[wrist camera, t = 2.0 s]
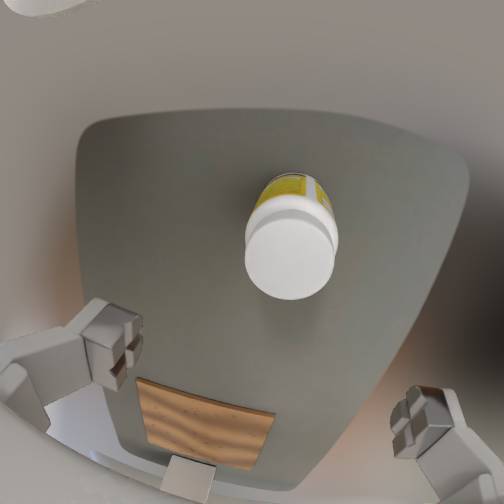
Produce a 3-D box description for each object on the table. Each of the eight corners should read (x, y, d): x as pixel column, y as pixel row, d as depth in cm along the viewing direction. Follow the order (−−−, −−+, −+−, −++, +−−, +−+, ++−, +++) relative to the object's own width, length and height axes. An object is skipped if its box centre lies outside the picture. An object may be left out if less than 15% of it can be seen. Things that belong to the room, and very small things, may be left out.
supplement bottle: (248, 218, 22) (218, 278, 14) (278, 159, 20) (262, 189, 12) (309, 249, 22) (309, 322, 15) (342, 193, 20) (364, 243, 13)
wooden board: (138, 377, 32) (136, 380, 32) (275, 414, 31) (274, 418, 30) (149, 439, 39) (148, 442, 39) (252, 467, 38) (251, 470, 38)
